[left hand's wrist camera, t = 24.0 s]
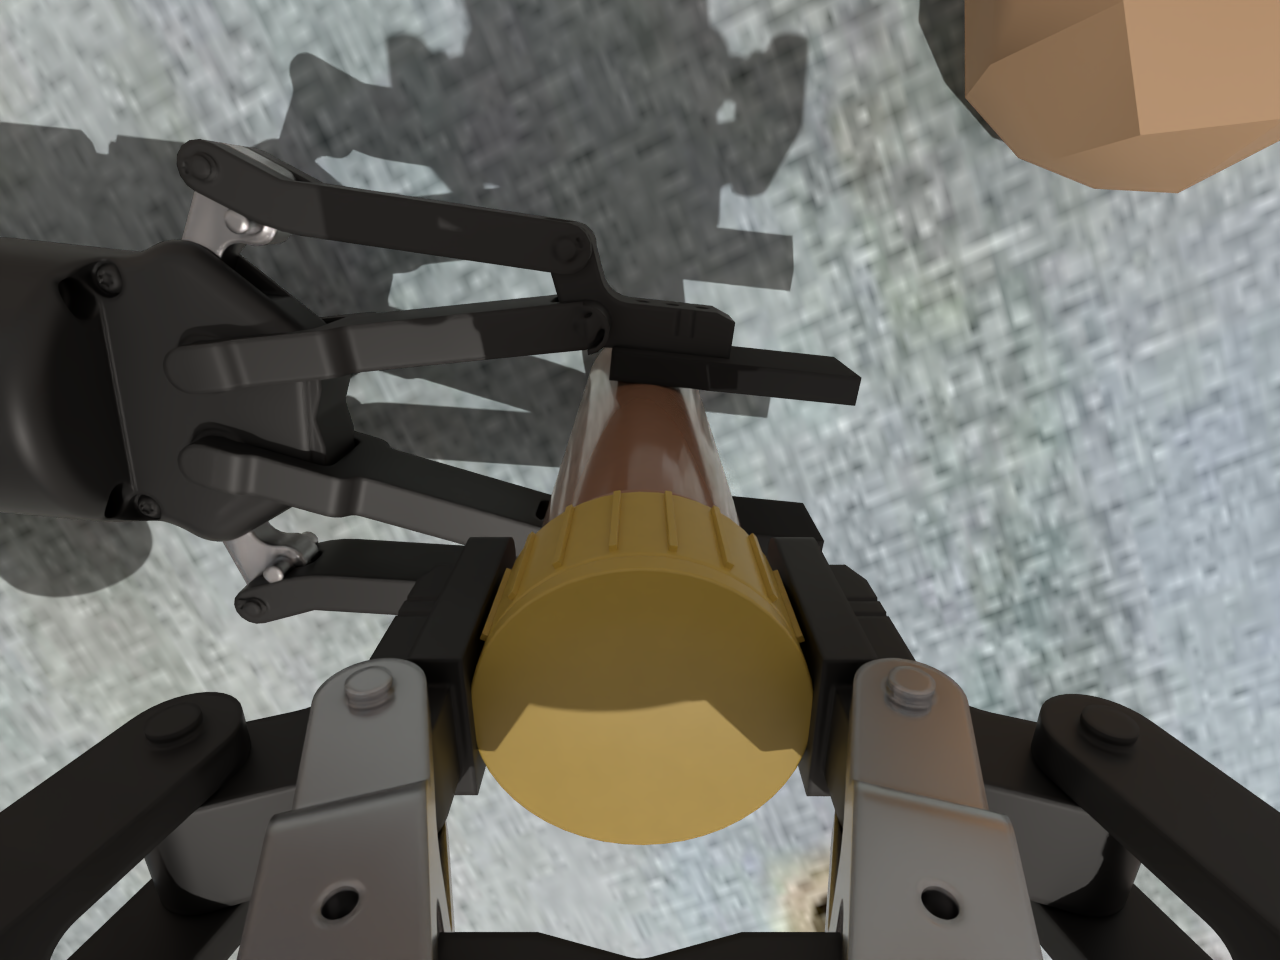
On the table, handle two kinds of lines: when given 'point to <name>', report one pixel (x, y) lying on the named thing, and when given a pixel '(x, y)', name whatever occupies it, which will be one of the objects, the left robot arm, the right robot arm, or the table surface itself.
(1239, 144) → the squash
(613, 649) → the lid
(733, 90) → the table surface
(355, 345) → the right robot arm
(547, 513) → the jar
